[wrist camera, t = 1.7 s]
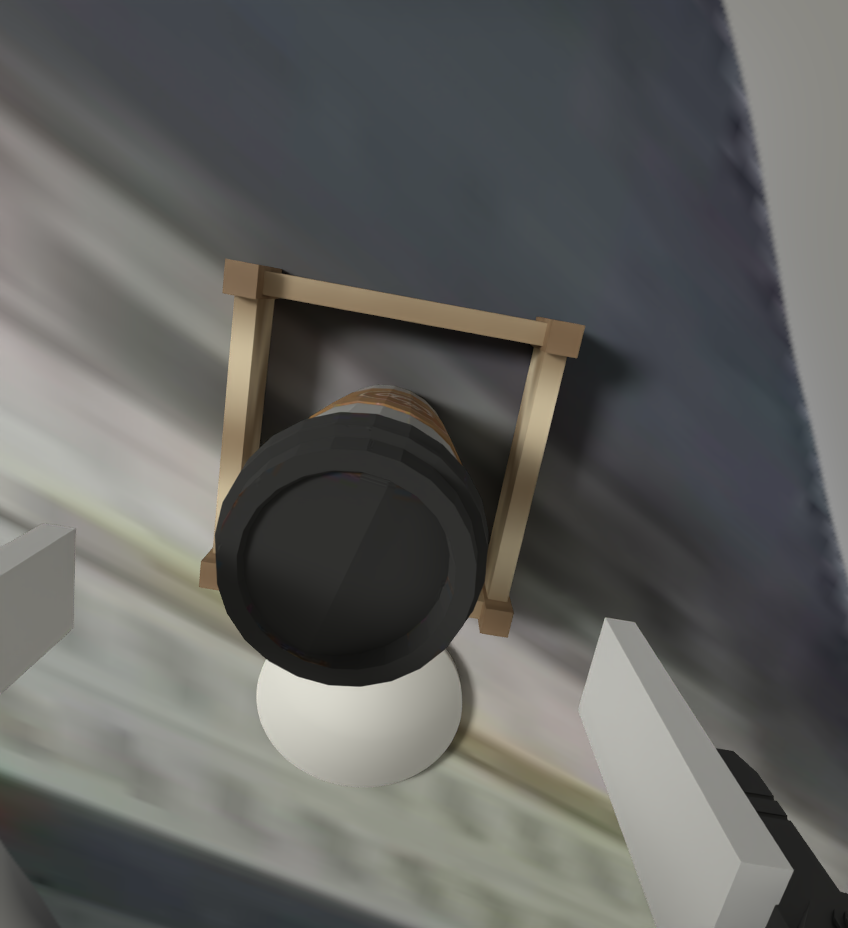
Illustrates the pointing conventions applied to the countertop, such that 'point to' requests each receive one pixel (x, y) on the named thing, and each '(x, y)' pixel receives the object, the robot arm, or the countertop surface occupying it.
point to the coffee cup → (353, 542)
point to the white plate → (362, 723)
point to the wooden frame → (545, 335)
